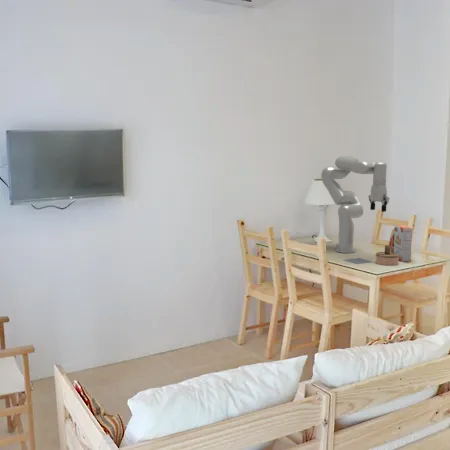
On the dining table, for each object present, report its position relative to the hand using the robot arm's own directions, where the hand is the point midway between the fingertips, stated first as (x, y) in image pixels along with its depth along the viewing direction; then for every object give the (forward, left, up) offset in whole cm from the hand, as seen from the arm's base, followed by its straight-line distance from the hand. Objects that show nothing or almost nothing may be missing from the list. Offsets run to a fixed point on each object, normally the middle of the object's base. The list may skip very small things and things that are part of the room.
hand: (378, 210), depth 334 cm
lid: (+14, -4, -25) cm, 29 cm away
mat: (+2, -16, -30) cm, 34 cm away
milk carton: (-3, +19, -30) cm, 36 cm away
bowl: (+14, -4, -30) cm, 34 cm away
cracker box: (+8, +13, -31) cm, 34 cm away
